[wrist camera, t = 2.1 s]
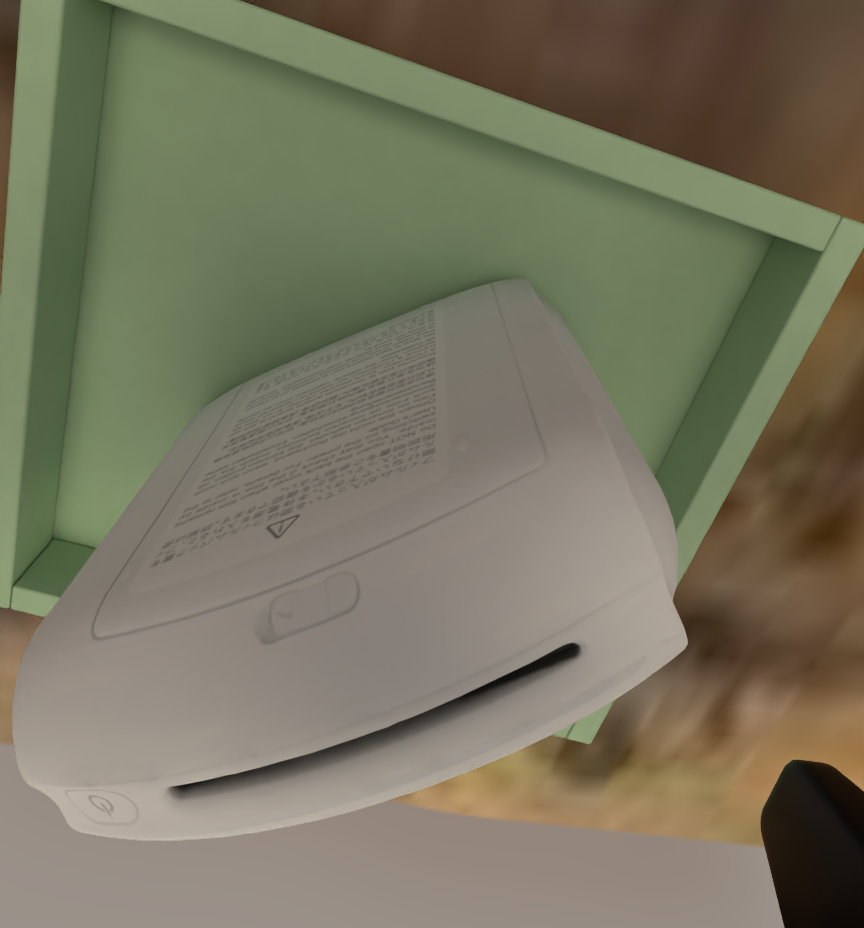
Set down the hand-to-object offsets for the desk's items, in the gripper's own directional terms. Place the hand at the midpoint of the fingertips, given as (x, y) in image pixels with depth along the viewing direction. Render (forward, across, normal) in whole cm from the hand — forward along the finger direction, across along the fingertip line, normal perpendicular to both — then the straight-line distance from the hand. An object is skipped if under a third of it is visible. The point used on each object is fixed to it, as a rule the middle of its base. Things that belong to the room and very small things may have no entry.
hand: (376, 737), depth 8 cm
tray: (+14, 0, +1) cm, 14 cm away
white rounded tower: (+13, 0, +1) cm, 13 cm away
